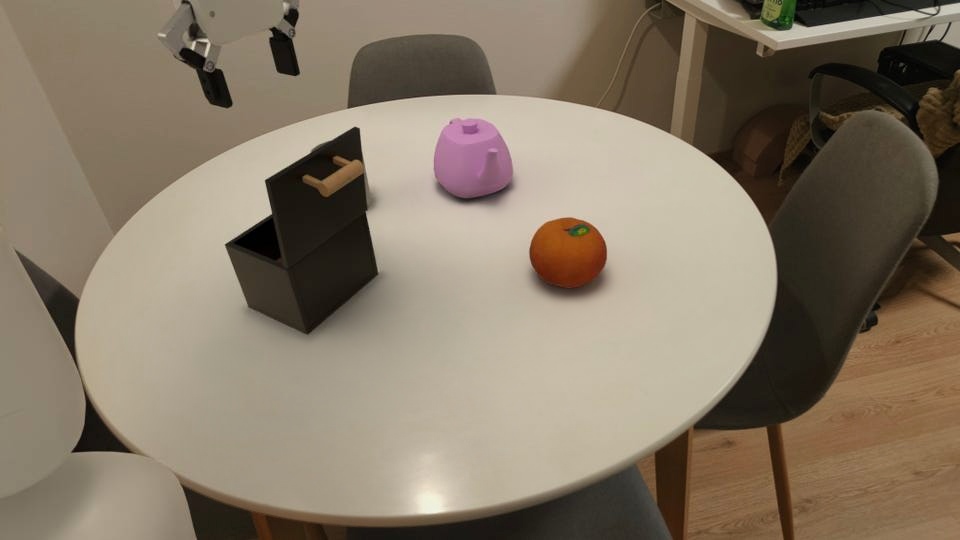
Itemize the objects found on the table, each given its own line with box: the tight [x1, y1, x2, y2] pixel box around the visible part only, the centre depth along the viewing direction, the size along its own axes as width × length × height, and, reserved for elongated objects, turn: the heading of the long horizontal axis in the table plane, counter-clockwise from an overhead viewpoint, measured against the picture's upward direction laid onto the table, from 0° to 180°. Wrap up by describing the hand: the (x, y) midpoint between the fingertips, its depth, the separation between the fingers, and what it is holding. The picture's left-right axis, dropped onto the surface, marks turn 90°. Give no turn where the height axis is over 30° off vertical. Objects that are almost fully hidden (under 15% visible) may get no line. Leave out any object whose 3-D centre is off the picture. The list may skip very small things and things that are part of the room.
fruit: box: [528, 216, 608, 289], centre depth 86 cm, size 11×10×8 cm
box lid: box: [264, 126, 369, 269], centre depth 75 cm, size 12×15×5 cm
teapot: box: [433, 117, 514, 199], centre depth 106 cm, size 20×13×12 cm, turn 23°
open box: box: [224, 211, 379, 335], centre depth 86 cm, size 12×15×11 cm
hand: (256, 89), depth 69 cm, fingers open, 9 cm apart
